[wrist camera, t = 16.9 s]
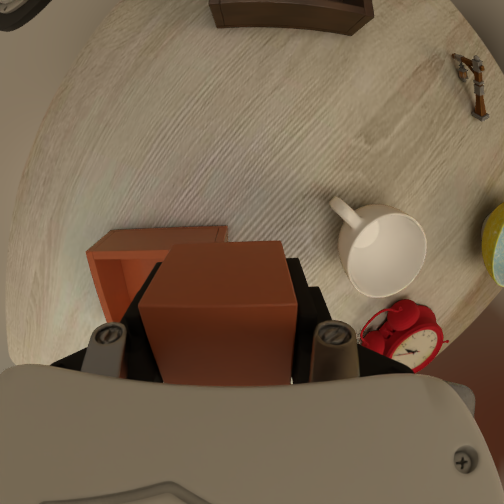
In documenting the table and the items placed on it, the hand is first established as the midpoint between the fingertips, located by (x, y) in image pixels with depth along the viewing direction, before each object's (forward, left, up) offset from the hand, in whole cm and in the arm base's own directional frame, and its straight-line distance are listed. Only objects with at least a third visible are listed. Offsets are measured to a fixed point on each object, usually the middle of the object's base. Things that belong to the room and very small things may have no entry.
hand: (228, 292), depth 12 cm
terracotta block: (0, 0, 0) cm, 0 cm away
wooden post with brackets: (+26, +15, -16) cm, 33 cm away
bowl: (+34, -2, -16) cm, 37 cm away
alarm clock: (+21, -17, -15) cm, 31 cm away
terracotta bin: (-8, -8, -15) cm, 19 cm away
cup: (+11, -2, -16) cm, 19 cm away
